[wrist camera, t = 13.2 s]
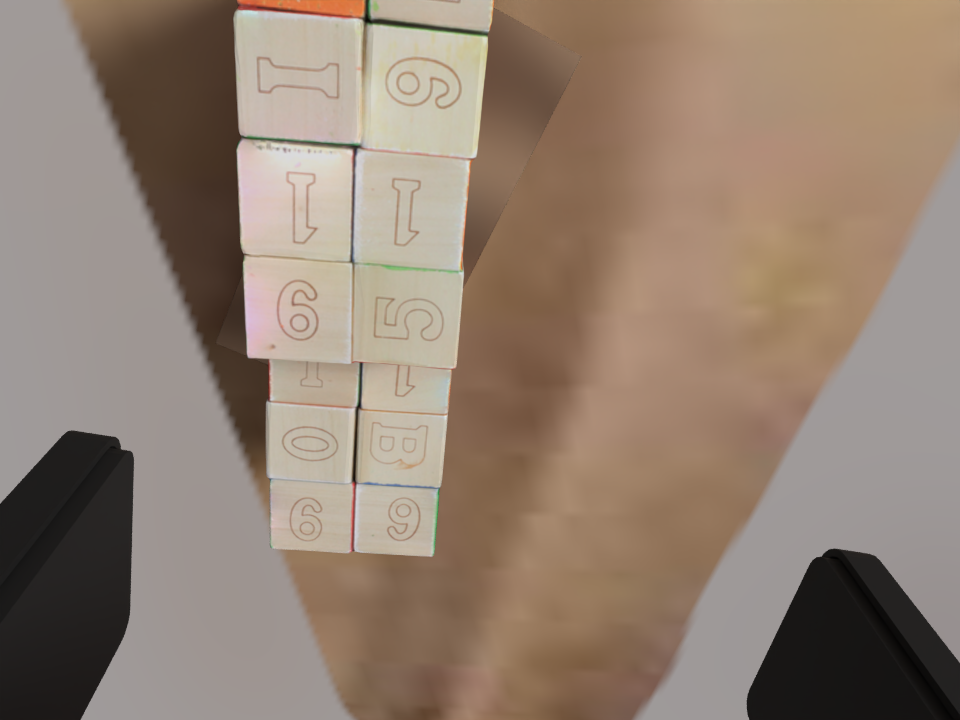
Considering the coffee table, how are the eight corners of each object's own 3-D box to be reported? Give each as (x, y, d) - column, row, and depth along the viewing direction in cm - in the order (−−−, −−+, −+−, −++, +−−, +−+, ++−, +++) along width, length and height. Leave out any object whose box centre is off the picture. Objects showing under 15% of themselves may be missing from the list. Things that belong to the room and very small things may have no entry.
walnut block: (382, -49, 33) (372, -60, 28) (564, 51, 35) (581, 56, 30) (242, 305, 39) (215, 343, 35) (402, 374, 41) (396, 418, 37)
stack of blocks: (436, 438, 37) (432, 619, 26) (305, 428, 36) (243, 609, 25) (484, -61, 28) (510, -116, 17) (315, -82, 28) (227, -153, 17)
